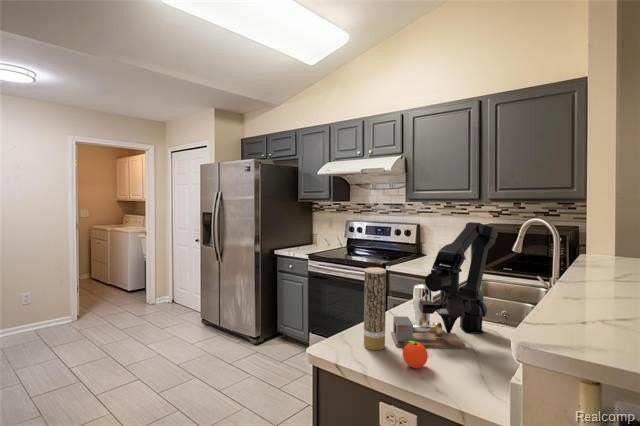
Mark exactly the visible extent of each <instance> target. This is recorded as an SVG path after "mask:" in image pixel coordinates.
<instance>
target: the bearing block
mask: <svg viewBox="0 0 640 426" xmlns="http://www.w3.org/2000/svg"><path fill="white" fill-rule="evenodd" d="M392 317H393V321H392V322H393V323H392V326H393V327H392V328H393V329H392V332H393V334H394V336H395V339H396V341H397V343H405V342H406V343H410V342H407V341H413V325H414V323H413V322H412V321H411V320H410V318H409V316H392Z"/></svg>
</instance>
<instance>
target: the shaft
mask: <svg viewBox="0 0 640 426" xmlns="http://www.w3.org/2000/svg"><path fill="white" fill-rule="evenodd" d="M413 333H433V335H434V337H442V334H443V333H444V332H443V325H442V323H441V322H433V323H432V325H431V326H416V325H414V324H413Z"/></svg>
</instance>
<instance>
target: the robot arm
mask: <svg viewBox="0 0 640 426" xmlns="http://www.w3.org/2000/svg"><path fill="white" fill-rule="evenodd" d="M498 236H499V232H498V230H497V229H496V227H495V226H494V225H486V224H483V223H481V222H474V221H470V222H467V223H466V224H465V227H464V228H463V230H462V231H461V232H460V233H459V234H458V236H457V237H456V238H455V239H454V240H453V241H452V242H451V243H449V244H445V245H444V246H442V247H441V248H440V249H439V251H438V252H437V254H436V257H435V259H434V262H433V264H432V268H431V270H430V273H428V274H427V276H426V277H425V279H424V284H425V285H426V287H427V288H428V289H429V290H430V291H432V293H434V292H435V293H436V292H439V291H440V292H439V293H440V294H439V295H440V297H439V300H438V302H439V303H434V302H433V300H432V301H420V302H419V309H420V310H421V312H422V313H424V314H430V315H431V314H432V315H433V314H434V313H435V312H436V313H437V315H439V317H441V319H442V323H443V325H444V329H445V331H446V333H452V330H453V327H454V325H455V323H456V321H457V320H458V319H459V327H460V328H461V329H462V330H463V332H465V333H467V334H472V333H473V334H477V333H478V334H484V333H485V332H484V330H483V318H485V317H486V316H487V313H488V307H487V306H486V304H485V302H484V294H483V292H482V289H481V286H482V281H483V277H484V271H485V266H486V263H487V258H488V252H489V250H490V249H491V248H492V247H493V246H494V245H495V244H496V240H497V238H498ZM472 244H473V250H472V255H471V260H470V265H469V269H468V274H467V278H466V283H465V285H464V286H463V287H462V286H460V273H462V271H463V270H462V269H461V267H462V266H463V264H464V261H465V260H466V256H465V254H466V251H467V250H468V249H469V247H470V246H471V245H472Z"/></svg>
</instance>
